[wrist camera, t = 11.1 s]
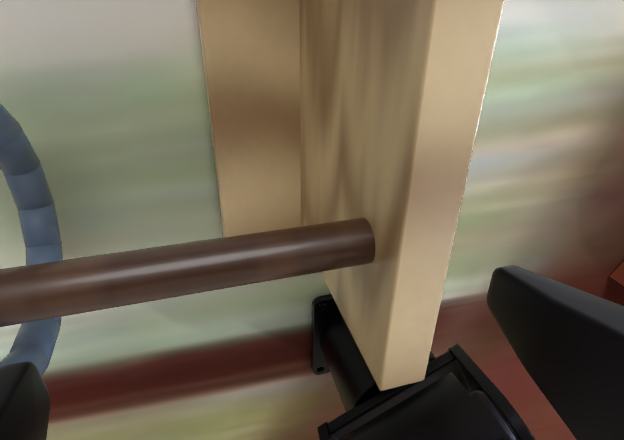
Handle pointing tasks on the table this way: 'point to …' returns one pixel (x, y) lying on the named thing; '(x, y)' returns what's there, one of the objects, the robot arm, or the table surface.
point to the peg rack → (318, 169)
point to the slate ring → (30, 234)
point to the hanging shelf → (619, 274)
